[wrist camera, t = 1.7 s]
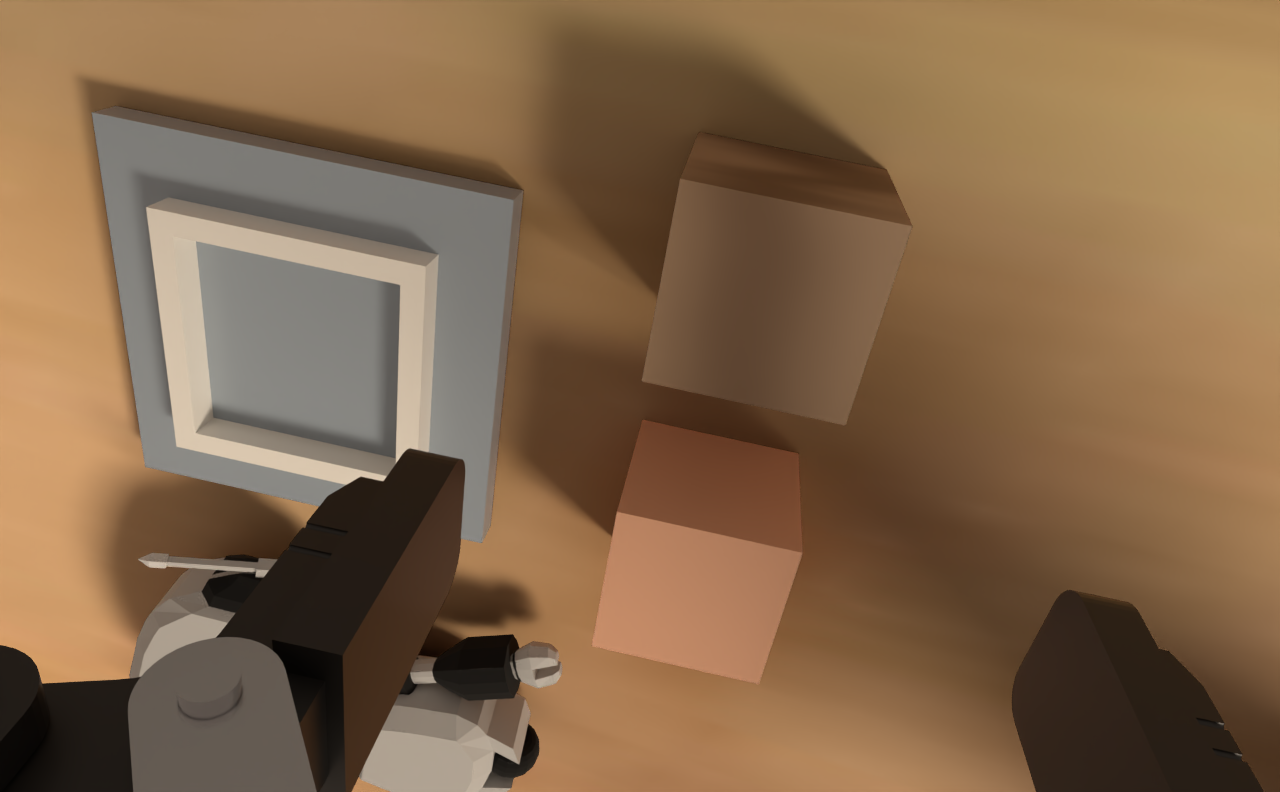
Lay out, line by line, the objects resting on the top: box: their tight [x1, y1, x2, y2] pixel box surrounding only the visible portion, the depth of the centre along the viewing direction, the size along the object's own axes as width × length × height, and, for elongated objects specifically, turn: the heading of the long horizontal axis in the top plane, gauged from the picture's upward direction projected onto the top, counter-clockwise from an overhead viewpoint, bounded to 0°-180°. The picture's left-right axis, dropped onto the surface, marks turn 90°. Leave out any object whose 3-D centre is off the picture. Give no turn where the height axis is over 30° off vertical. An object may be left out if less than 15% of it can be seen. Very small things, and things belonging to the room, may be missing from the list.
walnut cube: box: [642, 132, 913, 426], centre depth 21 cm, size 5×5×5 cm
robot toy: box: [129, 553, 562, 792], centre depth 32 cm, size 12×4×15 cm
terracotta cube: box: [592, 420, 803, 684], centre depth 26 cm, size 5×5×5 cm
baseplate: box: [92, 106, 524, 543], centre depth 26 cm, size 12×12×2 cm
